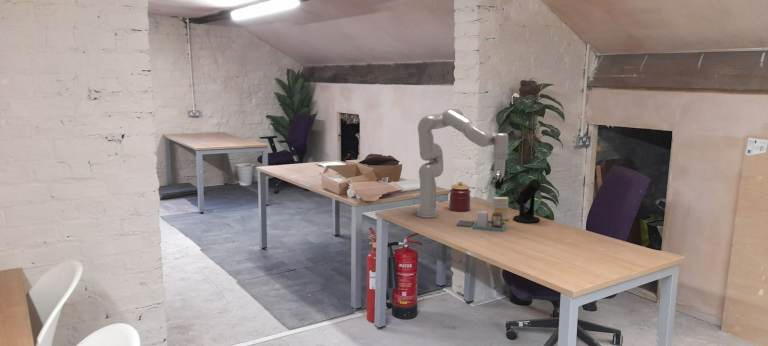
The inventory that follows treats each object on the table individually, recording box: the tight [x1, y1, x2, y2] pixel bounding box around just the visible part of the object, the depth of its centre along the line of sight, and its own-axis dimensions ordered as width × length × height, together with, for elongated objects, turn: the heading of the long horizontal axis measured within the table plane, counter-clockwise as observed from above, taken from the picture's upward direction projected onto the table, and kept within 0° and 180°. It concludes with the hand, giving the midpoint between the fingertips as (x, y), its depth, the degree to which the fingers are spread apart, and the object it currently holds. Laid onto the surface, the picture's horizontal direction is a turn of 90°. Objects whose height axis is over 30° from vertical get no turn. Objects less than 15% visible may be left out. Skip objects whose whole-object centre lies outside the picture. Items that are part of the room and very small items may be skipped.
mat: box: [456, 219, 475, 228], centre depth 311 cm, size 8×10×1 cm
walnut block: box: [491, 211, 503, 228], centre depth 305 cm, size 5×5×8 cm
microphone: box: [512, 179, 542, 225], centre depth 318 cm, size 15×17×25 cm
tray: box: [471, 219, 507, 233], centre depth 306 cm, size 17×15×2 cm
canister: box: [449, 181, 472, 213], centre depth 344 cm, size 13×13×18 cm
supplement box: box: [492, 196, 510, 221], centre depth 321 cm, size 8×5×13 cm, turn 84°
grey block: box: [476, 210, 489, 227], centre depth 307 cm, size 5×5×8 cm
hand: (499, 187), depth 302 cm, fingers open, 9 cm apart
